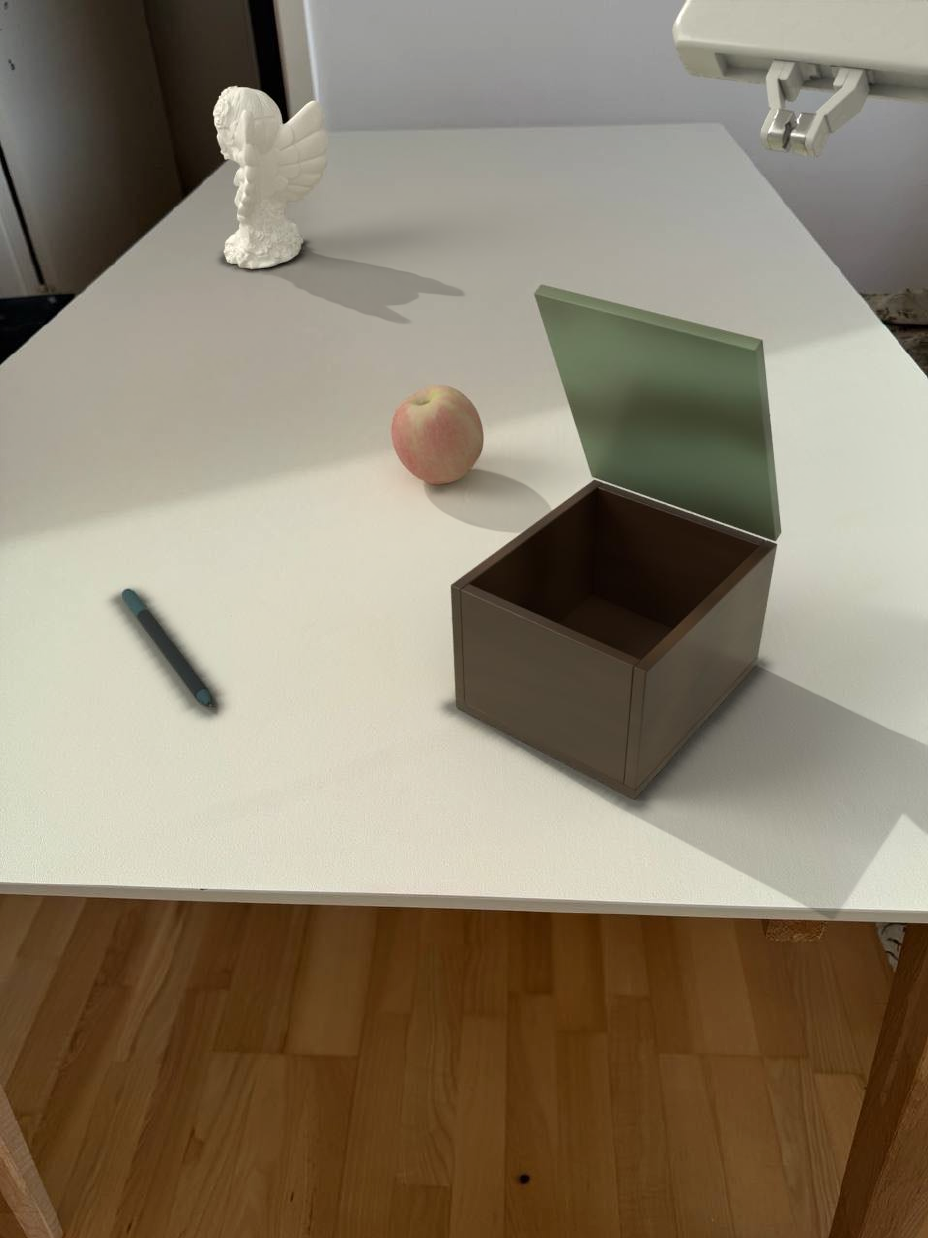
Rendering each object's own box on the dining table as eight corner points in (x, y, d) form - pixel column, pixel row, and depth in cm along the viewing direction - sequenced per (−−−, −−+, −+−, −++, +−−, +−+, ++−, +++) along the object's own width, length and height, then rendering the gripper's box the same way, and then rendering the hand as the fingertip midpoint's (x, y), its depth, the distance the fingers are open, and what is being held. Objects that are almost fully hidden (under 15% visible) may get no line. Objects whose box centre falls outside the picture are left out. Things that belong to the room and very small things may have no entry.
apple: (426, 447, 100) (422, 365, 95) (500, 466, 97) (499, 382, 92) (377, 486, 94) (370, 401, 89) (454, 508, 91) (450, 421, 86)
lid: (755, 350, 54) (763, 339, 55) (533, 293, 61) (540, 283, 62) (776, 542, 68) (782, 532, 68) (591, 477, 75) (597, 468, 75)
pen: (205, 698, 71) (221, 699, 72) (122, 585, 82) (136, 587, 82) (199, 712, 71) (215, 713, 72) (117, 598, 82) (132, 599, 83)
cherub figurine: (284, 230, 150) (264, 70, 138) (343, 250, 143) (328, 83, 131) (205, 255, 143) (176, 89, 131) (263, 277, 136) (239, 103, 124)
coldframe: (634, 800, 64) (646, 672, 59) (455, 707, 71) (449, 584, 66) (756, 664, 74) (778, 543, 68) (588, 594, 81) (594, 478, 75)
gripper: (714, -112, 67) (618, 93, 67) (1069, -103, 57) (956, 139, 56) (739, -36, 72) (651, 153, 72) (1067, -16, 62) (964, 205, 62)
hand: (787, 148), depth 64 cm, fingers closed
